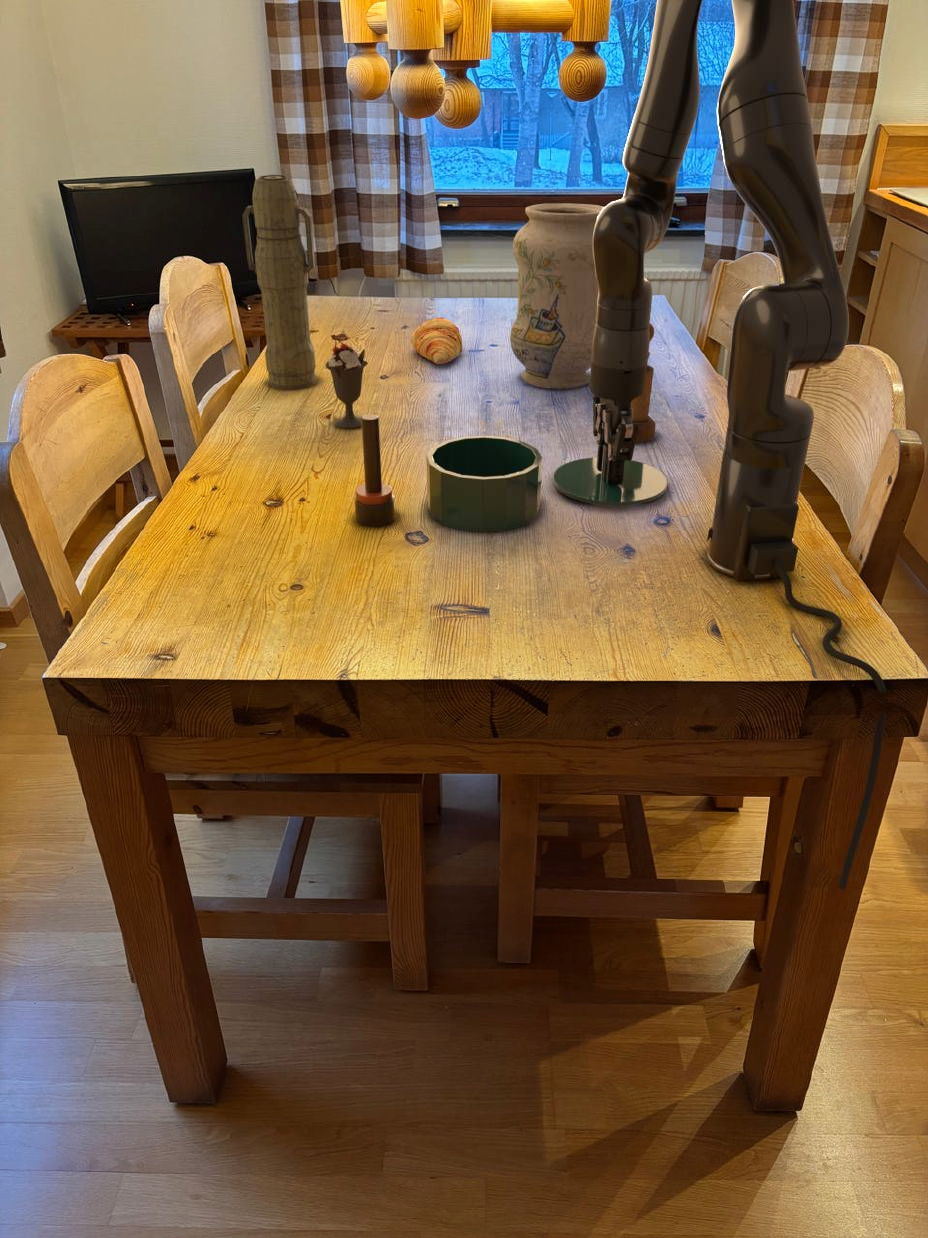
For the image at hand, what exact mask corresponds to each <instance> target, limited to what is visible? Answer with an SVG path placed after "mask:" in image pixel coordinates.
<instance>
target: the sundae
mask: <svg viewBox="0 0 928 1238" xmlns="http://www.w3.org/2000/svg"><path fill="white" fill-rule="evenodd" d="M330 337H331V338H332V339H334V342H335V344H334V347H333V348H332V354H331V355H330V357H329V359H328V360H327V362H325V369H328V370H329V371H330V374H331V378H332V383H333V389H334V393H335V396H336V398H337V399H338V400H339V402H341V403H343V404H344V406H345V414H344V417H343V418H339V419H337V420H336V421H335V424H334V425H335V426H336V427H338V428H340V429H346V430H353V429H358V428H362V420H361V417H360V418H359V417H356V416H355V414H354V408H353V407H354V406H353V405H354V403H355V402H356V401H358V400H359V398H360V396H361V393H362V387H363V374H364V368H365V367H367V366H368V364H369V363H368V361H366V360H364V359H365V357H366V353H365V352H366V351H365V349H364V348H363V349H362V351H361V352H360V353H359V354H358V351H357V350H355V349H354V347H352V346H348V344H346V343H343V342H342V341H341V340H340V339H339V338H338V337H337V336H336V334H331V335H330ZM337 340H338V341H337ZM337 342H339V343H340V345H339V346H340V347H339V346H337Z"/></svg>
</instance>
